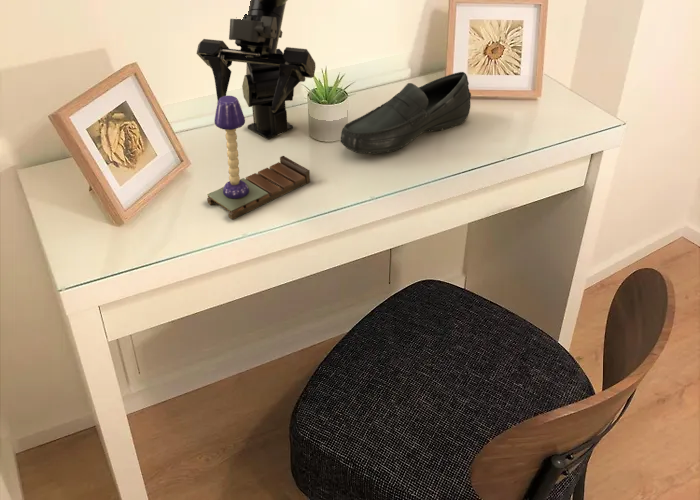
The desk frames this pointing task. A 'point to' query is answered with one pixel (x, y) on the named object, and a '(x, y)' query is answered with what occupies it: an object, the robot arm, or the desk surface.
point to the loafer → (410, 115)
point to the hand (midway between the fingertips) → (246, 108)
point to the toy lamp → (231, 143)
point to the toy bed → (263, 187)
